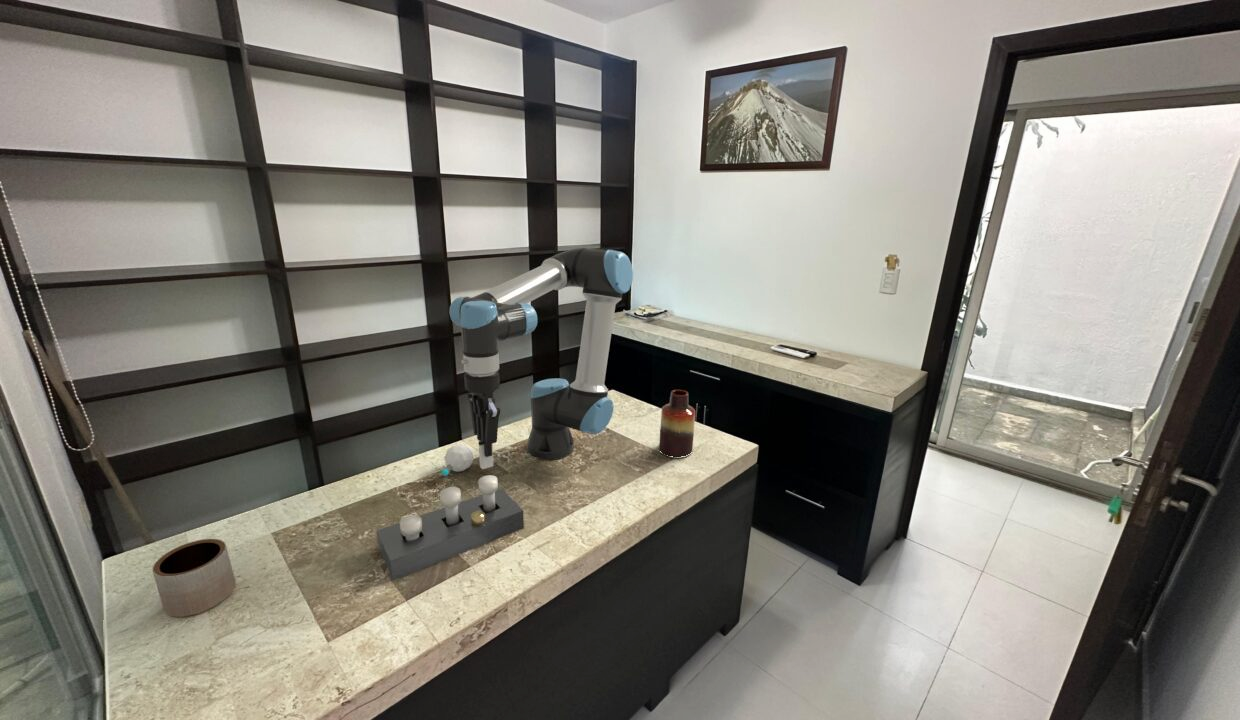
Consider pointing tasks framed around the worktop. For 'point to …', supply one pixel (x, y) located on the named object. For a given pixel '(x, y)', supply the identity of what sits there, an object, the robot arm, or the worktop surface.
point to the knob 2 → (488, 491)
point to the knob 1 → (411, 527)
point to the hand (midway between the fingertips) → (486, 466)
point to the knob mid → (451, 504)
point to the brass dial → (477, 518)
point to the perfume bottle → (457, 459)
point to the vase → (677, 425)
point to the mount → (448, 535)
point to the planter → (194, 577)
